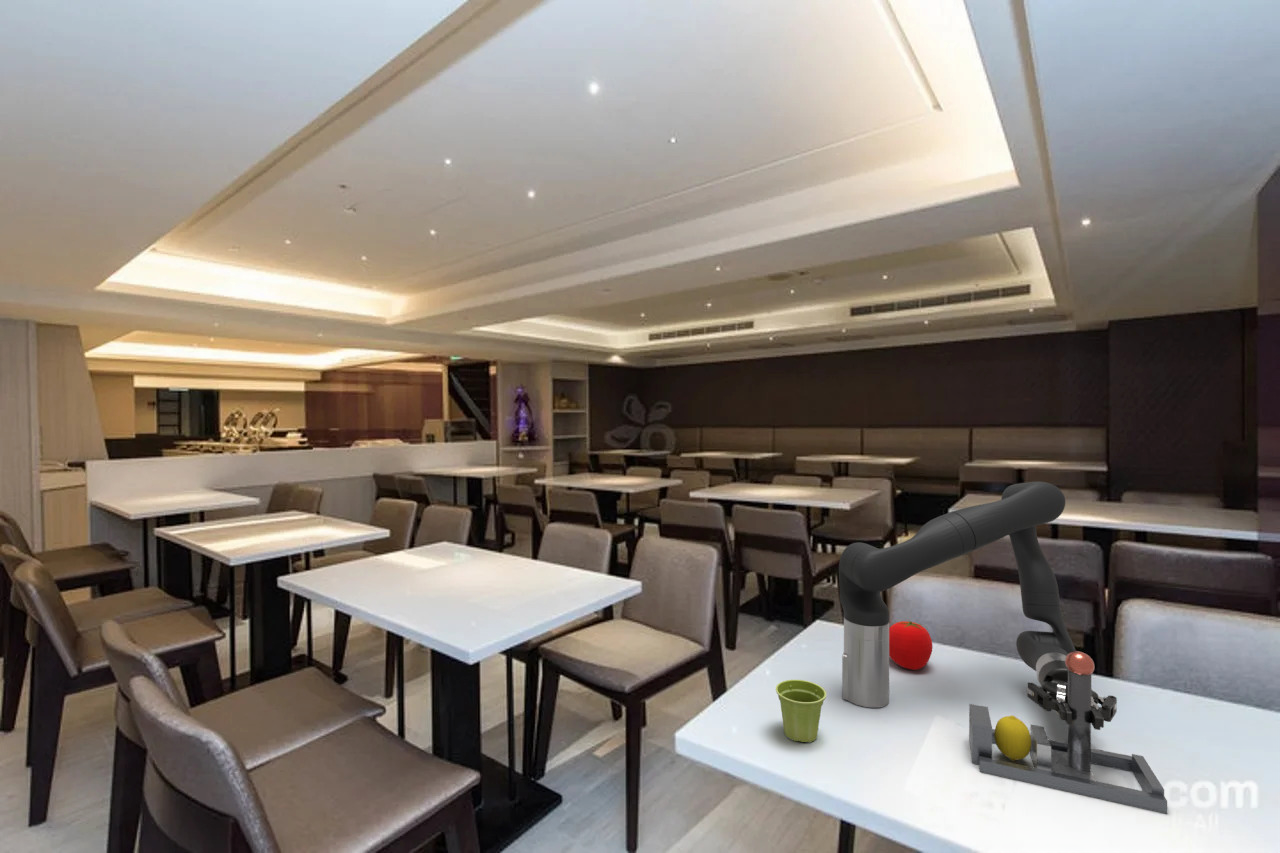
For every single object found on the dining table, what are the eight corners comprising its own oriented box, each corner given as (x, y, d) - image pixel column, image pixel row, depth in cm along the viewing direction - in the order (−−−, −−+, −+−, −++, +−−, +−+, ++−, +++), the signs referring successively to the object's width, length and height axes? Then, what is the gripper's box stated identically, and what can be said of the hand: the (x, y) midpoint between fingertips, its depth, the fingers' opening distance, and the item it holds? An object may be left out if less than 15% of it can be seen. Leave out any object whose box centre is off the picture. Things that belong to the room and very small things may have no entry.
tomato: (892, 674, 140) (892, 628, 140) (880, 656, 150) (880, 614, 150) (939, 676, 138) (940, 630, 138) (924, 658, 149) (924, 615, 149)
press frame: (973, 770, 102) (973, 730, 102) (968, 734, 113) (968, 698, 113) (1167, 813, 90) (1167, 768, 90) (1140, 769, 102) (1140, 729, 102)
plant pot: (837, 740, 112) (837, 694, 111) (800, 754, 107) (800, 706, 107) (801, 718, 120) (801, 675, 120) (765, 730, 115) (765, 686, 115)
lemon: (1037, 771, 101) (1037, 725, 101) (1001, 767, 103) (1001, 722, 102) (1023, 753, 107) (1023, 709, 107) (989, 750, 108) (989, 706, 108)
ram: (1037, 775, 100) (1038, 654, 99) (1029, 751, 107) (1030, 638, 107) (1099, 789, 96) (1100, 663, 96) (1087, 763, 103) (1088, 645, 103)
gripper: (1018, 653, 116) (1033, 690, 101) (1107, 666, 110) (1137, 708, 94) (1018, 691, 116) (1032, 734, 101) (1107, 706, 110) (1137, 754, 95)
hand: (1083, 721), depth 98 cm, fingers closed on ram, 3 cm apart
